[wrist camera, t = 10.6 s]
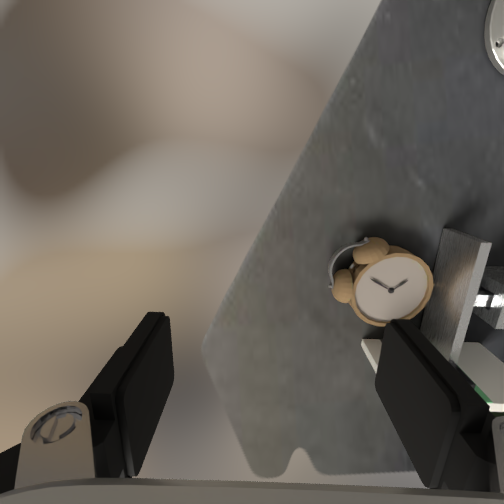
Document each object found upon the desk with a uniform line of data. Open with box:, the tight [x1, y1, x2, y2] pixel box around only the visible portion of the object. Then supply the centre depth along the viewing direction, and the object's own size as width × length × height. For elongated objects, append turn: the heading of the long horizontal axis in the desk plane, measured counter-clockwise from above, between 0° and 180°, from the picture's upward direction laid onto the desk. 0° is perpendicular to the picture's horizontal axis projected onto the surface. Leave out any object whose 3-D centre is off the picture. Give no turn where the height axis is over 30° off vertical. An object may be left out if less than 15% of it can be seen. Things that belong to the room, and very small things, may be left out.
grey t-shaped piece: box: [420, 228, 494, 389], centre depth 37 cm, size 17×11×11 cm, turn 179°
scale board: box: [361, 338, 504, 412], centre depth 40 cm, size 1×18×12 cm, turn 89°
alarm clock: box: [328, 237, 435, 326], centre depth 40 cm, size 11×5×15 cm
